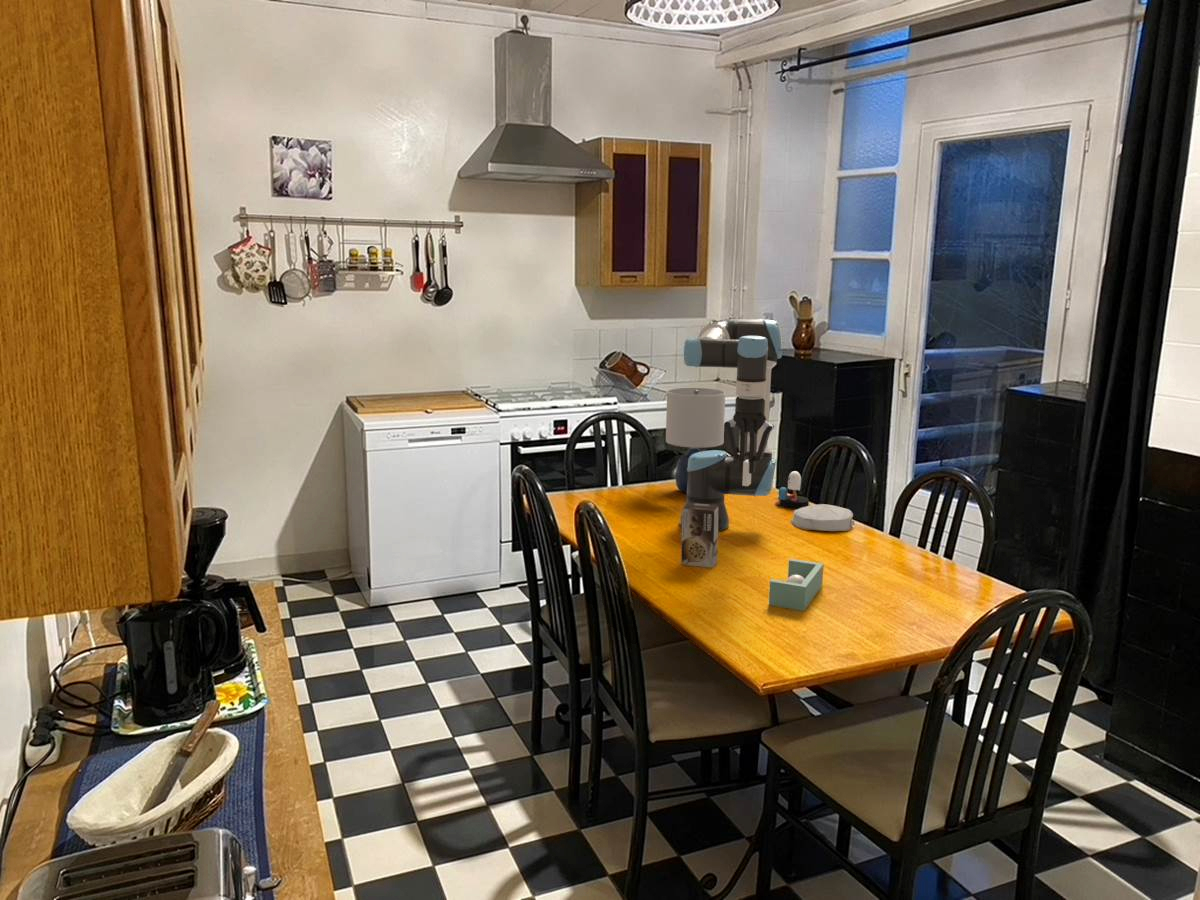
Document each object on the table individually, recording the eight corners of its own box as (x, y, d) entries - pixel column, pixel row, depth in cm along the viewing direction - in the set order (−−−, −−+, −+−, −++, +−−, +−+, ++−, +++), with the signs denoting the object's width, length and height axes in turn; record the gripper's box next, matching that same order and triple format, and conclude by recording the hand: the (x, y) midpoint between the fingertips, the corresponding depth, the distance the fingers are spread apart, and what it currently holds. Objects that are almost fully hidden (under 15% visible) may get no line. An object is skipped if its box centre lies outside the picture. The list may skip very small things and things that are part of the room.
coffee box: (718, 561, 247) (720, 504, 244) (713, 568, 241) (715, 510, 238) (685, 557, 250) (687, 501, 247) (680, 564, 244) (681, 507, 241)
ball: (803, 573, 220) (807, 594, 219) (805, 572, 224) (809, 592, 224) (782, 576, 221) (786, 597, 221) (785, 575, 226) (789, 595, 225)
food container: (844, 538, 272) (846, 516, 270) (781, 526, 282) (783, 505, 280) (863, 523, 288) (865, 503, 287) (802, 513, 298) (804, 493, 297)
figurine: (774, 501, 311) (776, 467, 309) (807, 502, 310) (809, 468, 307) (775, 508, 302) (777, 473, 300) (809, 509, 301) (811, 474, 298)
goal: (768, 605, 216) (770, 581, 215) (789, 580, 232) (790, 558, 231) (804, 611, 212) (805, 587, 211) (822, 586, 229) (823, 563, 228)
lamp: (661, 497, 314) (664, 392, 307) (667, 483, 334) (669, 385, 326) (720, 500, 311) (724, 394, 303) (722, 486, 331) (726, 386, 323)
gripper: (721, 396, 232) (718, 485, 237) (771, 401, 226) (766, 491, 232) (730, 392, 238) (727, 478, 244) (779, 396, 233) (774, 484, 238)
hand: (746, 484), depth 238 cm, fingers closed
